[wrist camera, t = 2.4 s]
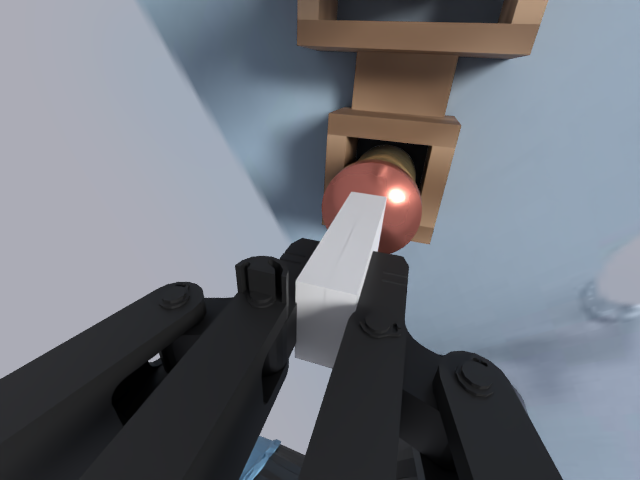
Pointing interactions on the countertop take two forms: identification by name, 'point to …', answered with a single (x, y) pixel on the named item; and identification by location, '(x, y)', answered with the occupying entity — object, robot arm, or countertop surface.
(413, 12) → the countertop surface
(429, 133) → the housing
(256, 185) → the countertop surface
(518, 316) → the countertop surface
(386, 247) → the copper-capped cylinder
